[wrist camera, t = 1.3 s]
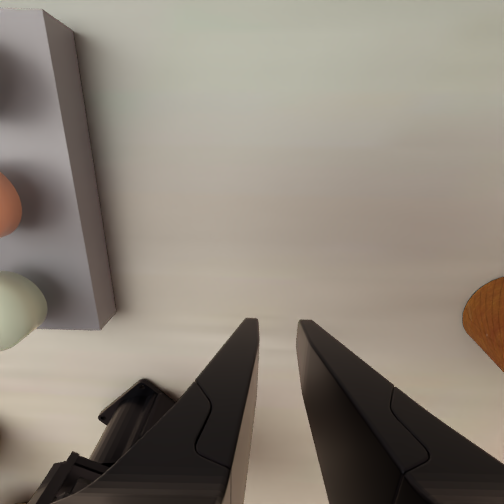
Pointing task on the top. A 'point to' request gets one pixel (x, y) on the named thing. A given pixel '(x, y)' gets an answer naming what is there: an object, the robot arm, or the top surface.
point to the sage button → (19, 308)
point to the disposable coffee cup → (487, 320)
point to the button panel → (51, 172)
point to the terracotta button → (9, 207)
